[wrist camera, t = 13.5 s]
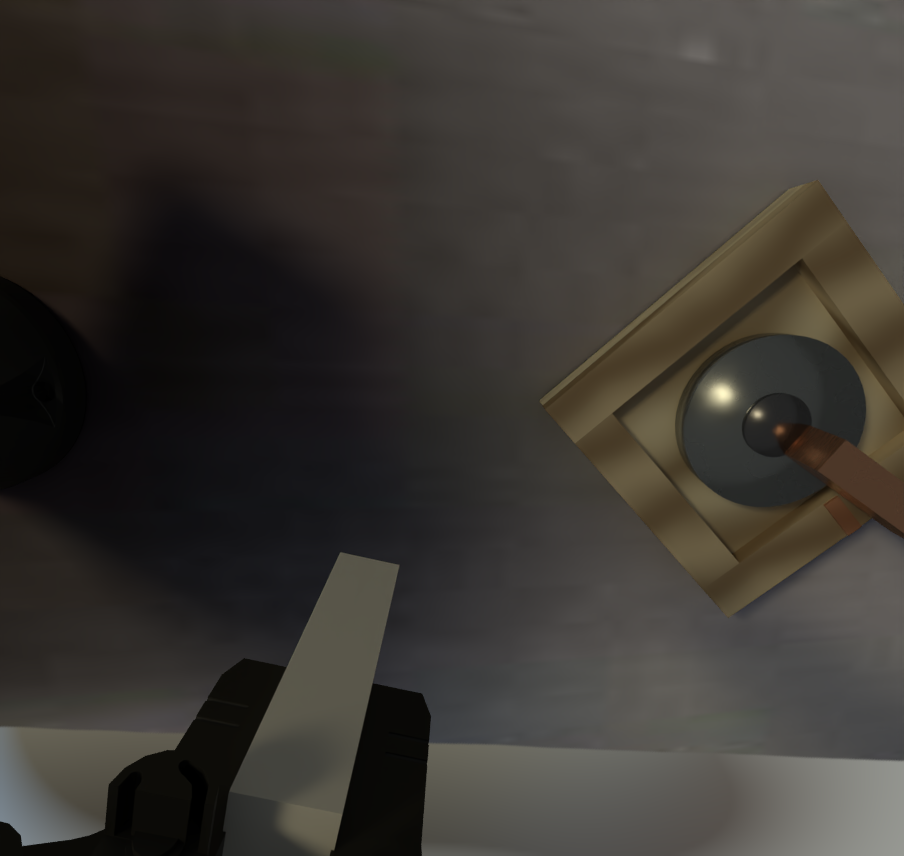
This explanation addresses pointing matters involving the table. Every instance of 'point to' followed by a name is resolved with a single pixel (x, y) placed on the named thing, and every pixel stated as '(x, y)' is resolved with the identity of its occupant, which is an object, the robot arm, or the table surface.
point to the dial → (783, 427)
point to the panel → (705, 332)
